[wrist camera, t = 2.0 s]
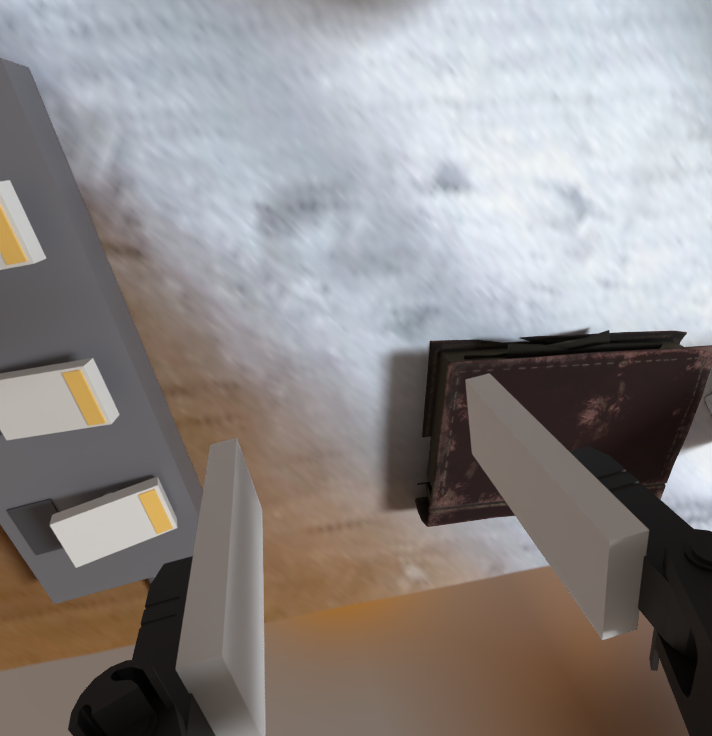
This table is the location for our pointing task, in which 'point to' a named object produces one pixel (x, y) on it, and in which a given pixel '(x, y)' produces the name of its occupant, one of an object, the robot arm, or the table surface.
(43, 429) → the rocker middle
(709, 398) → the string lights box
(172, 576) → the robot arm
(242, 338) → the table surface
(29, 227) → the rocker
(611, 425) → the diary
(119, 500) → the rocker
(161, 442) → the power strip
